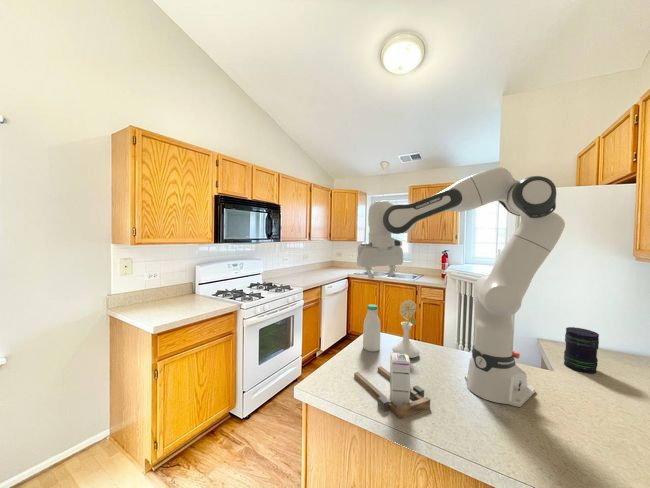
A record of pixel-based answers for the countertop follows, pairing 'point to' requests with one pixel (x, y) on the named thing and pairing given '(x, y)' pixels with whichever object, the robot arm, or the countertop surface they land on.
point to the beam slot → (387, 404)
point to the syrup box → (399, 379)
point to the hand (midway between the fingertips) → (380, 277)
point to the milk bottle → (371, 329)
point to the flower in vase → (407, 330)
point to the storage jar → (581, 350)
